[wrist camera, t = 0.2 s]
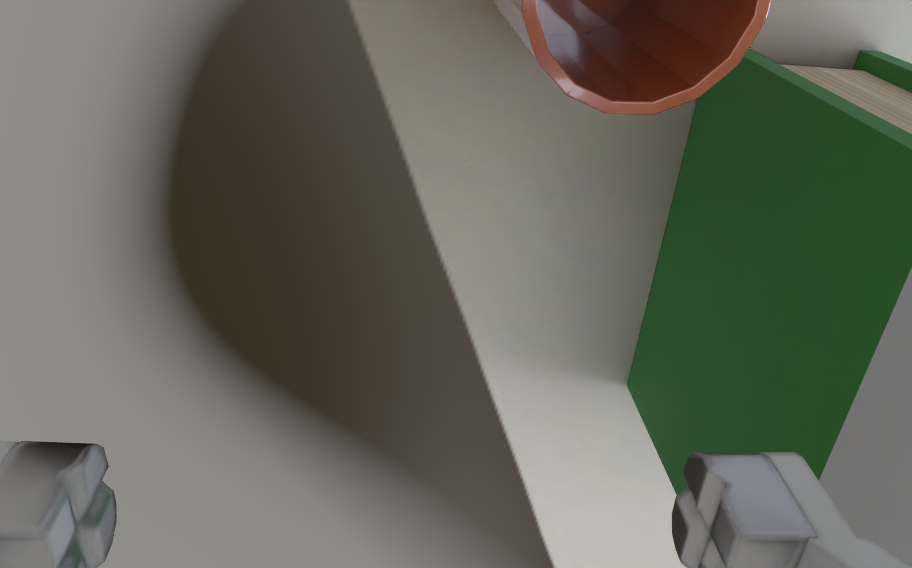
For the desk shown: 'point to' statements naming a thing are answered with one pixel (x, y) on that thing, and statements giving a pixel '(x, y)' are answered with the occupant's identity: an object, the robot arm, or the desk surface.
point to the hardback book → (792, 286)
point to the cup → (636, 47)
